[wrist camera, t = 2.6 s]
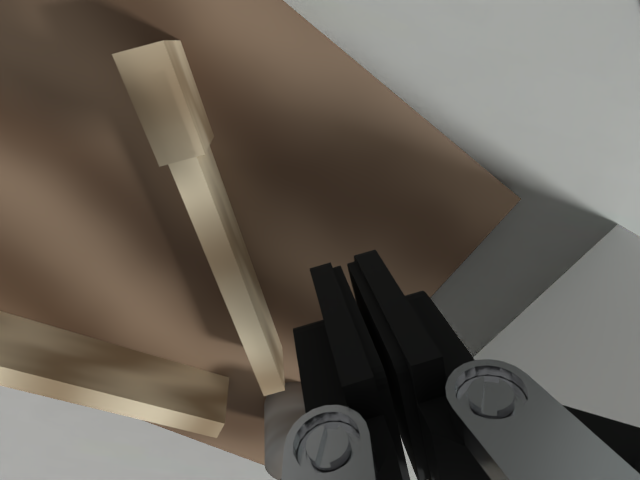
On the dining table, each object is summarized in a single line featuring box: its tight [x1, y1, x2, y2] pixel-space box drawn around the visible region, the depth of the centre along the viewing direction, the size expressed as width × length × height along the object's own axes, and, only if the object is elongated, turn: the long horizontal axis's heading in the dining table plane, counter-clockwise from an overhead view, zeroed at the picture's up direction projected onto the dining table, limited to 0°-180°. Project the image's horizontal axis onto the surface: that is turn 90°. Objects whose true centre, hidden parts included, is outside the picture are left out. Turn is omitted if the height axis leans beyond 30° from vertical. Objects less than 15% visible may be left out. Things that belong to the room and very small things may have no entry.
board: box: [0, 0, 521, 465], centre depth 20 cm, size 21×22×1 cm
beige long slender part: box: [0, 311, 306, 480], centre depth 20 cm, size 20×3×4 cm, turn 63°
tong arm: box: [112, 40, 285, 396], centre depth 17 cm, size 15×2×3 cm, turn 14°
